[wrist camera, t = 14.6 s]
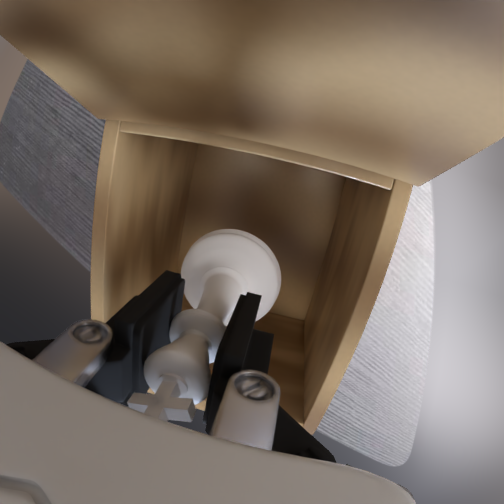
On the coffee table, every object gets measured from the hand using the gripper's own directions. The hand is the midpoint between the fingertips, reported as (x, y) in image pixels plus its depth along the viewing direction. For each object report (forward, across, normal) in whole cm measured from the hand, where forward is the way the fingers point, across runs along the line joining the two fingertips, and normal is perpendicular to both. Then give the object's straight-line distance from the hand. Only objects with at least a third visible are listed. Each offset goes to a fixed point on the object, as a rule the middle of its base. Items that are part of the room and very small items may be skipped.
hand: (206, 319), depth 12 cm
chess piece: (+5, 0, 0) cm, 5 cm away
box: (+14, 0, 0) cm, 14 cm away
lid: (-5, 0, -9) cm, 10 cm away
